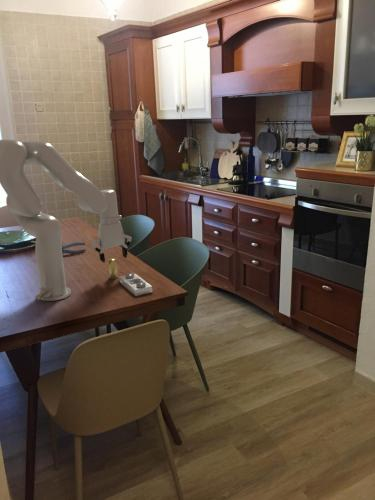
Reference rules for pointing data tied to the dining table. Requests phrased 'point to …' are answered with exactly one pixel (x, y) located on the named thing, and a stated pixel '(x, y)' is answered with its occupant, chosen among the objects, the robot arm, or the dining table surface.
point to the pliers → (72, 250)
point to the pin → (113, 268)
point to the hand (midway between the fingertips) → (114, 259)
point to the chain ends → (135, 284)
